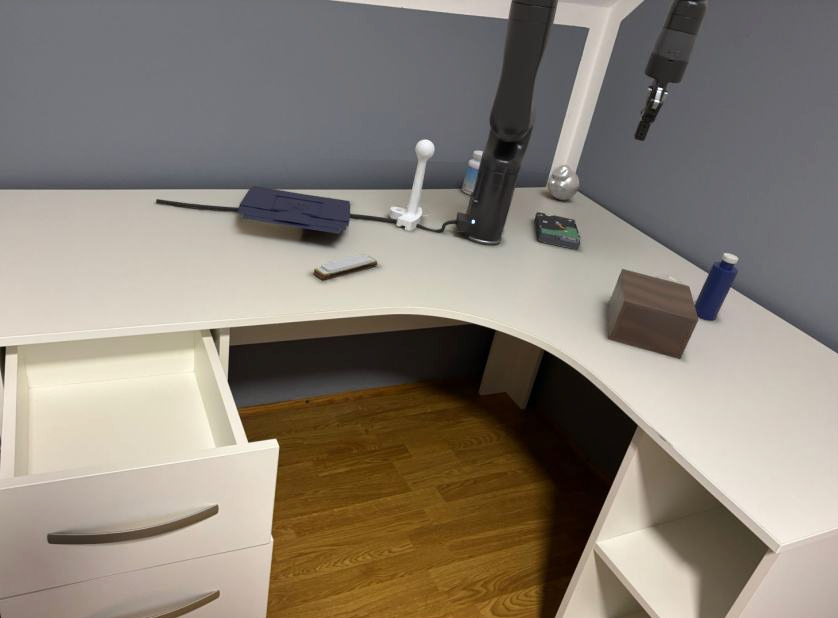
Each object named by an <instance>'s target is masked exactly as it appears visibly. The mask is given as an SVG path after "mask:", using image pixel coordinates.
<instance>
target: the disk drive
mask: <svg viewBox="0 0 838 618" xmlns="http://www.w3.org/2000/svg"><path fill="white" fill-rule="evenodd" d="M534 216H535V217H534V219H533V221H534V227H535V231H536V238H537V241H538V242H541V243H545V244H550V245H555V246H559V247H565V248H568V249H574V250H578V249H579V248H580V245H581V234H580V232H579V228H578V226H577V222H576V220H575V219H573V218H568V217H563V216H559V215H547V214H546V213H544V212H541V211H540V212H539V211H536V213H535V215H534Z"/></svg>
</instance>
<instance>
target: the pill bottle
mask: <svg viewBox="0 0 838 618" xmlns="http://www.w3.org/2000/svg"><path fill="white" fill-rule="evenodd" d="M483 151H484V150H474V151H473V153H472V158H471V159H470V160H469V161H468V163H467V167H466V171H465V176H464V179H463V184H462V187H461V191H462V192H463V193H465V194H466V195H471V192H473V190H474V186H475V182H476V177H477V173H478V169H479V165H480V161H481V157H482V153H483Z"/></svg>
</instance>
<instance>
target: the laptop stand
mask: <svg viewBox="0 0 838 618" xmlns="http://www.w3.org/2000/svg"><path fill="white" fill-rule="evenodd" d="M238 209H239V211H237V212H236V213H237V215H241V217H240V219H241V220H248V221H255V222H259V223H260V222H261V223H267V224H275V225H281V226H287V227H293V228H300V229H306V230H313V231H319V232H326V233H331V234H332V233H333V234H337V235H340V234H341V230H342V231H347V227H349V226H350V225H349V224H350V218H351V217H350V214H351V202H350V200H345V199H344V200H343V199H339V198H333V197H332V198H331V197H326V196H325V197H324V196H318V195H312V194H305V193H298V192H293V191H286V190H281V189H276V188H269V187H264V186H257V185H253V186H252V187H250V188H249V189H248V191H247V192H246V193H245V195H244V196H243V198H242V199H241V201H240V202H239V205H238Z"/></svg>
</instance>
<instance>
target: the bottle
mask: <svg viewBox="0 0 838 618" xmlns="http://www.w3.org/2000/svg"><path fill="white" fill-rule="evenodd" d="M738 261H739V256H736V255H734V254H732V253H729V252H724V253H723V254H722V256H721V260H720V261H714V262H713V263H712V265H711V268H710V270H709V271H708V275H707V277H706V279H705V281H704V283H703V285H702V286H701V287H702V288H701V290H700V292H699V294H698V296H697V298H696V300H695V302H694V305H695V309H696V313H697V316H698V319H702V320H705V321H711V322H712V321H715V320H716V319H717V317H718V314H719V312H720V310H721V308H722V307H723V304H724V302H725V300H726V298H727V296H728V294H729V291H730V289H731V287H732V286H733V284H734V281H735V279H736V277H737V276H738V273H739V269H738V268H736V267H735V265H736V264H737V263H738Z"/></svg>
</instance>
